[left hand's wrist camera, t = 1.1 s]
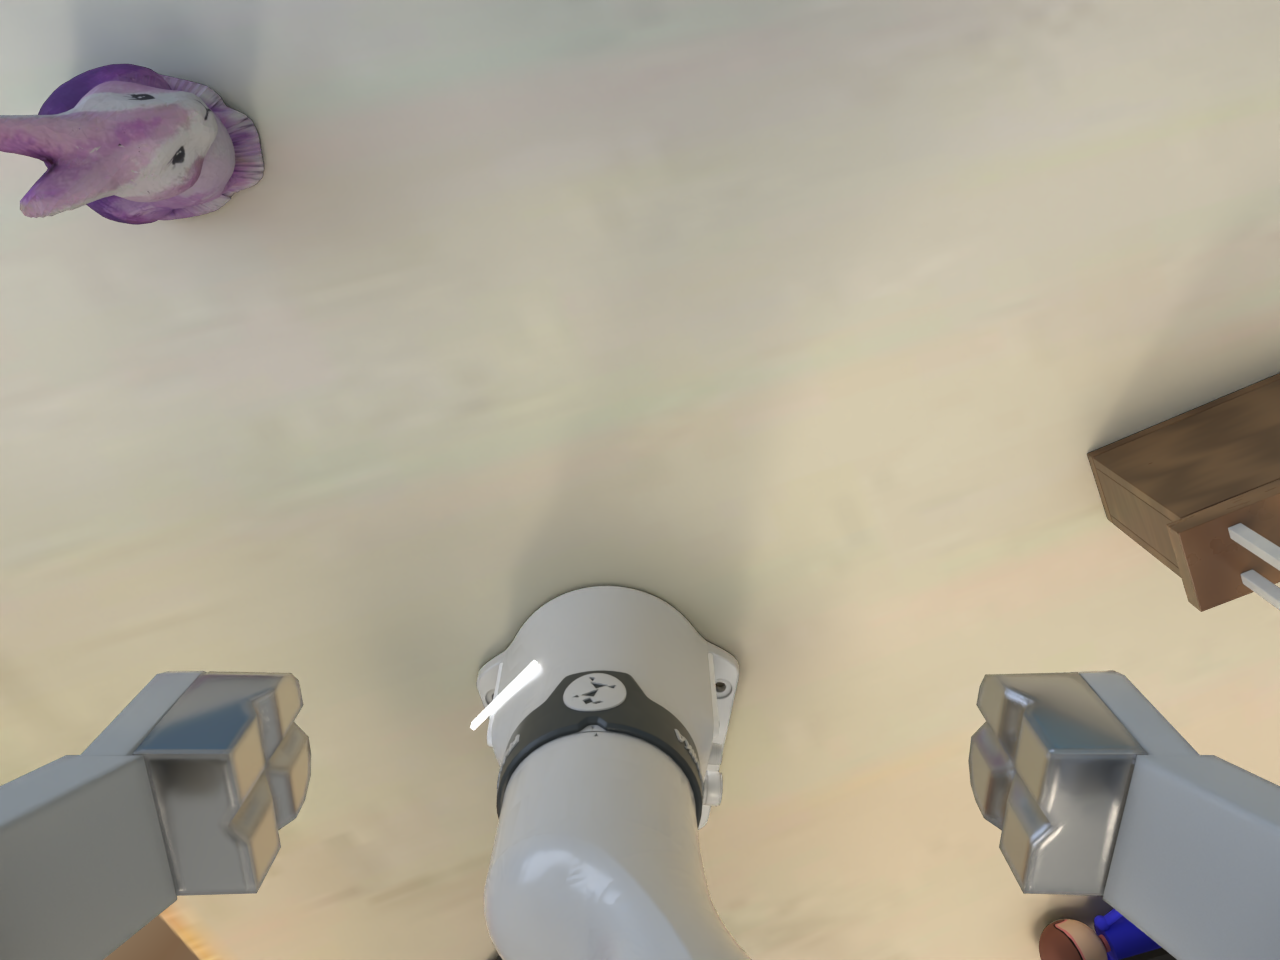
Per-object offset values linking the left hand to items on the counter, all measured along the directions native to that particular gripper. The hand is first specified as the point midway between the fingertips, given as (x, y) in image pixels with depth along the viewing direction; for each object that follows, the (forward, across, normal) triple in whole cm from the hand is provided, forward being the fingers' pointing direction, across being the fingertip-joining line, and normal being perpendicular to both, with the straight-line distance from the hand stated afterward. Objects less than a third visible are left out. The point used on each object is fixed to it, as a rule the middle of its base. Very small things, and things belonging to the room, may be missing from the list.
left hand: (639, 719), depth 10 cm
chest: (+45, +37, -11) cm, 59 cm away
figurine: (+45, -26, +7) cm, 53 cm away
